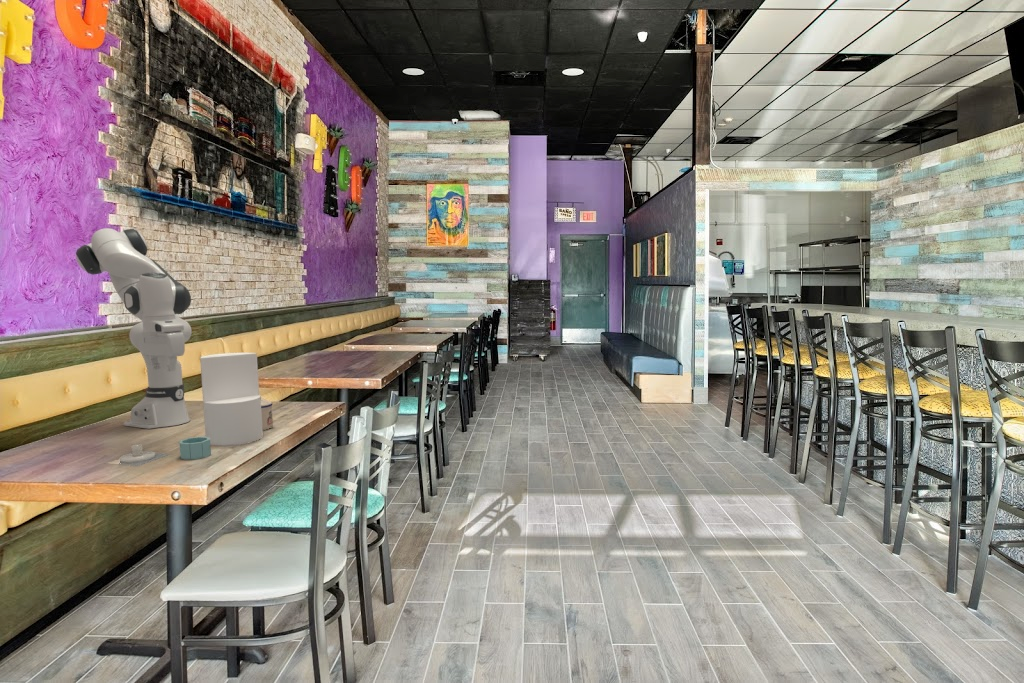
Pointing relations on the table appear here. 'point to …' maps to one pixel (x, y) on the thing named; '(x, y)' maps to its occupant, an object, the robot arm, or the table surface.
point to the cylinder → (231, 398)
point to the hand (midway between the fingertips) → (164, 370)
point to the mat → (157, 456)
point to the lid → (137, 455)
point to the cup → (195, 448)
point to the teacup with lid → (266, 414)
